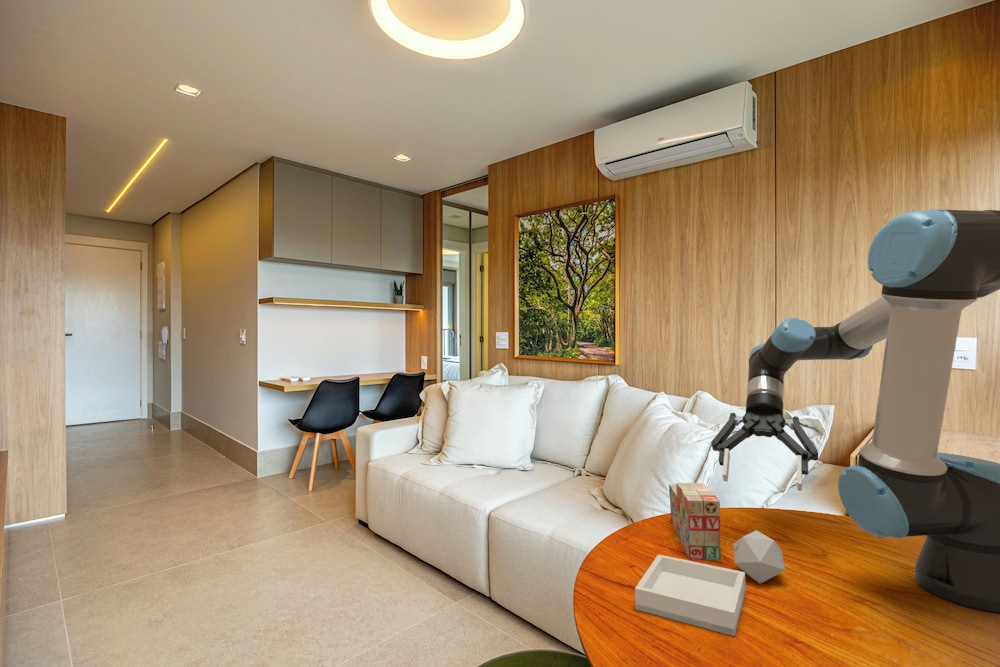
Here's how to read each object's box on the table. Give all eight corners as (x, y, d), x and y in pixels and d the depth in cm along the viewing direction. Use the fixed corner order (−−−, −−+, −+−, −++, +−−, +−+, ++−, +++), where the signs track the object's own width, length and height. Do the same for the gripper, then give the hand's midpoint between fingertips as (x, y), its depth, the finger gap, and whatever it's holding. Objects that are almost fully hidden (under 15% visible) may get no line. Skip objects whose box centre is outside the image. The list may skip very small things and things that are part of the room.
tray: (745, 592, 88) (745, 572, 88) (734, 636, 75) (734, 612, 75) (658, 572, 95) (658, 554, 95) (635, 609, 83) (635, 588, 83)
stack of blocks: (669, 521, 122) (668, 471, 122) (696, 522, 121) (695, 472, 121) (689, 560, 101) (687, 499, 101) (721, 561, 100) (720, 500, 100)
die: (749, 565, 99) (721, 528, 99) (792, 553, 95) (763, 514, 94) (753, 599, 92) (722, 559, 92) (799, 587, 88) (767, 545, 87)
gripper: (829, 414, 111) (833, 501, 98) (709, 407, 124) (699, 483, 111) (829, 392, 107) (834, 480, 94) (704, 388, 120) (694, 465, 107)
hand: (761, 482), depth 102 cm, fingers open, 13 cm apart
